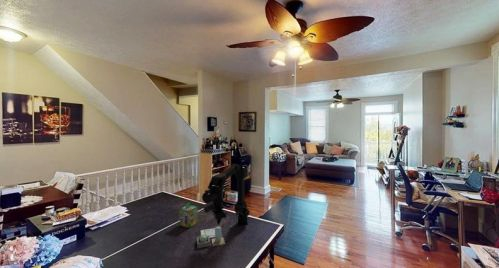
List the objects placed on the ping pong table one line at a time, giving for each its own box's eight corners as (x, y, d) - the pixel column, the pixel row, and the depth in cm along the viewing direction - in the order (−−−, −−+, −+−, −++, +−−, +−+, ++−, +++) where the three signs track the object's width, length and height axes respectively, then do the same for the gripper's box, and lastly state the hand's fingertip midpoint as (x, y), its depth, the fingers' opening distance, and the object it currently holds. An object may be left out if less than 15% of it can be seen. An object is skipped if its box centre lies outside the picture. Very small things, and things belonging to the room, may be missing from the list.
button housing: (208, 239, 122) (208, 235, 122) (210, 245, 115) (210, 241, 115) (196, 241, 119) (196, 237, 119) (197, 248, 113) (197, 243, 113)
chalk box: (189, 228, 135) (189, 206, 134) (179, 225, 138) (178, 204, 138) (198, 222, 143) (198, 201, 142) (188, 219, 147) (187, 199, 146)
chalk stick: (220, 239, 121) (220, 226, 121) (221, 242, 118) (221, 229, 117) (214, 240, 120) (214, 227, 120) (215, 243, 117) (215, 230, 116)
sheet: (219, 228, 135) (219, 227, 134) (221, 236, 125) (221, 235, 125) (200, 231, 131) (200, 230, 131) (201, 239, 121) (201, 238, 121)
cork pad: (223, 237, 123) (223, 237, 123) (225, 244, 117) (225, 243, 117) (211, 239, 121) (211, 239, 121) (213, 246, 114) (213, 245, 114)
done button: (206, 239, 120) (206, 234, 120) (207, 242, 116) (207, 237, 116) (199, 240, 118) (199, 235, 118) (200, 244, 115) (200, 238, 115)
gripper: (202, 193, 124) (202, 218, 125) (205, 205, 106) (205, 234, 107) (220, 192, 128) (220, 216, 128) (226, 202, 110) (226, 230, 110)
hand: (218, 223), depth 118 cm, fingers closed
